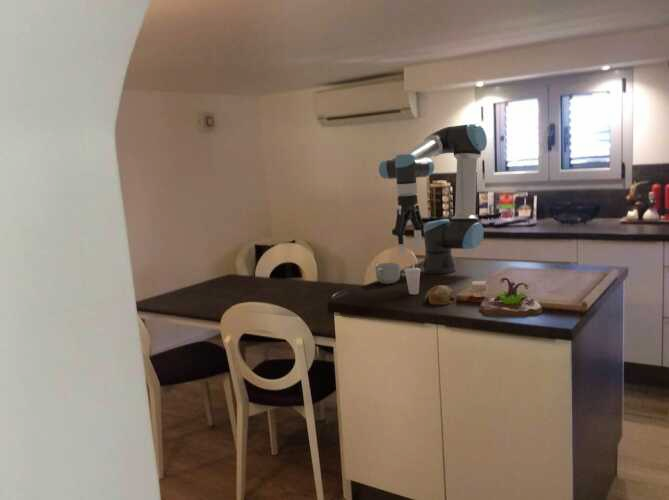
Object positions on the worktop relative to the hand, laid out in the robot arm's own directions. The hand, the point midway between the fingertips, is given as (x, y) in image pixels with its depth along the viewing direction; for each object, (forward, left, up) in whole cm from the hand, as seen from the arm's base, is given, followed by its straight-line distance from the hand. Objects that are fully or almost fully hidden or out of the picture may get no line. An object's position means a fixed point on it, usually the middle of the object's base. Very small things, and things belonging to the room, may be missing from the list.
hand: (410, 249), depth 233 cm
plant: (+12, +42, -18) cm, 48 cm away
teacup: (-14, -20, -18) cm, 30 cm away
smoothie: (0, 0, -18) cm, 18 cm away
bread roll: (+10, +15, -18) cm, 25 cm away
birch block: (-2, +26, -17) cm, 31 cm away
